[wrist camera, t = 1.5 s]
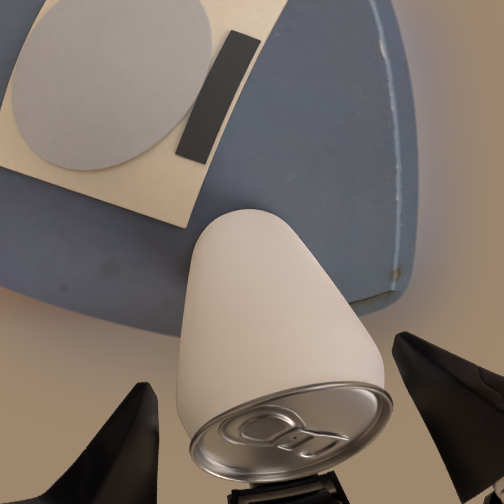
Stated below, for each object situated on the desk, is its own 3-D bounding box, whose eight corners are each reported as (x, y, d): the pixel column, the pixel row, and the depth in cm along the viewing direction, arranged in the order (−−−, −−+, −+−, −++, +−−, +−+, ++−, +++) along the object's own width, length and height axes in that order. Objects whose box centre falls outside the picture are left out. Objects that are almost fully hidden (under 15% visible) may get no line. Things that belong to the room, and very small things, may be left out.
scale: (187, 222, 16) (184, 233, 14) (0, 159, 12) (-17, 164, 10) (284, 5, 11) (292, -8, 10) (79, -33, 7) (69, -44, 6)
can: (244, 182, 15) (323, 318, 4) (319, 254, 18) (432, 407, 7) (170, 264, 17) (128, 456, 6) (248, 321, 19) (284, 493, 8)
